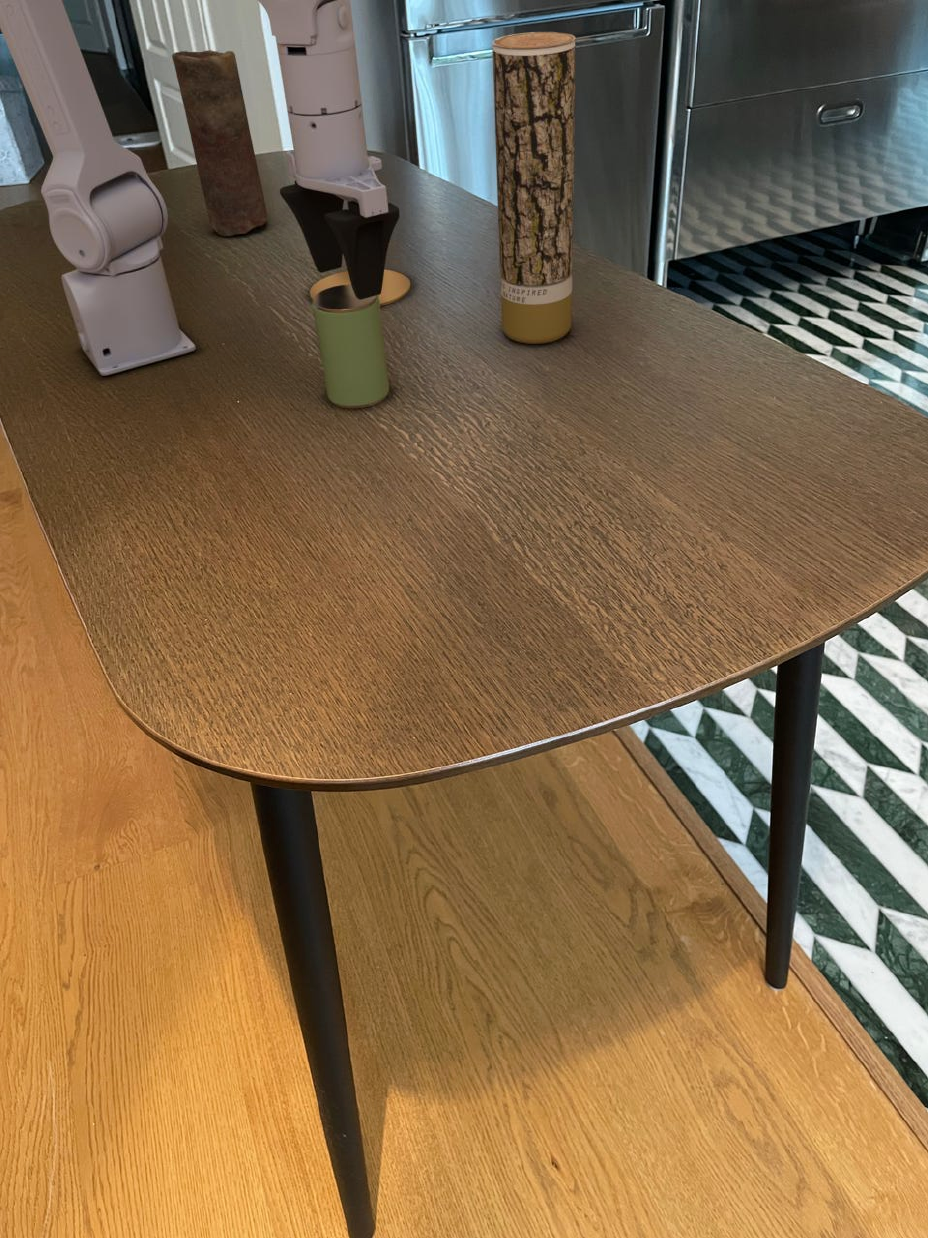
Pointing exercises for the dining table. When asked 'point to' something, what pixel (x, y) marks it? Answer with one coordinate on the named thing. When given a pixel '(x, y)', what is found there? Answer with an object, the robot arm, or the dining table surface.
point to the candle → (221, 140)
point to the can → (351, 347)
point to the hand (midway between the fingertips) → (348, 281)
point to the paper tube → (535, 182)
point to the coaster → (391, 290)
